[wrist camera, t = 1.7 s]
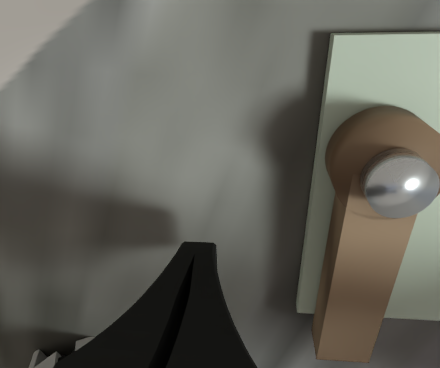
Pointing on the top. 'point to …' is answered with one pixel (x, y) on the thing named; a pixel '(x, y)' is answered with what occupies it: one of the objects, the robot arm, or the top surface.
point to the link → (363, 233)
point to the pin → (399, 183)
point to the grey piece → (53, 356)
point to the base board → (350, 105)
